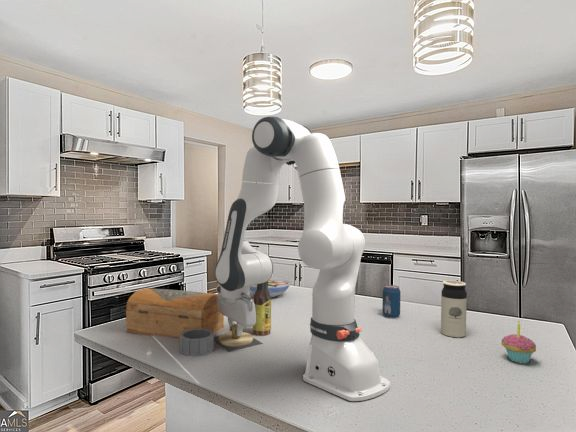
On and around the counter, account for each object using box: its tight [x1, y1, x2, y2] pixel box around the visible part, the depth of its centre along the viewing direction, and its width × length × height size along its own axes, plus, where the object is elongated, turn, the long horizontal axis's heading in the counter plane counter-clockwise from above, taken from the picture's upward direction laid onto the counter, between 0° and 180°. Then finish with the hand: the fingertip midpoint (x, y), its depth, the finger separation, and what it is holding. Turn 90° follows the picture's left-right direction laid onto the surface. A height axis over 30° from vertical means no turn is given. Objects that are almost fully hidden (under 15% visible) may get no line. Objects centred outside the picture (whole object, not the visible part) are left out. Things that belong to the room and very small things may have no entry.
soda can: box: [381, 284, 401, 319], centre depth 150 cm, size 7×7×12 cm
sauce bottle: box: [252, 281, 272, 337], centre depth 128 cm, size 6×6×20 cm
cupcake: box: [500, 321, 537, 364], centre depth 107 cm, size 9×8×12 cm
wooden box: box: [125, 287, 225, 339], centre depth 131 cm, size 30×16×14 cm, turn 72°
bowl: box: [178, 329, 215, 357], centre depth 112 cm, size 10×10×5 cm
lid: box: [218, 323, 254, 347], centre depth 120 cm, size 11×11×5 cm
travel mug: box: [440, 280, 468, 339], centre depth 129 cm, size 8×8×18 cm
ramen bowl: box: [250, 276, 292, 299], centre depth 181 cm, size 25×23×8 cm
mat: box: [214, 330, 264, 353], centre depth 120 cm, size 14×12×1 cm
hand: (235, 333), depth 120 cm, fingers closed on lid, 3 cm apart
